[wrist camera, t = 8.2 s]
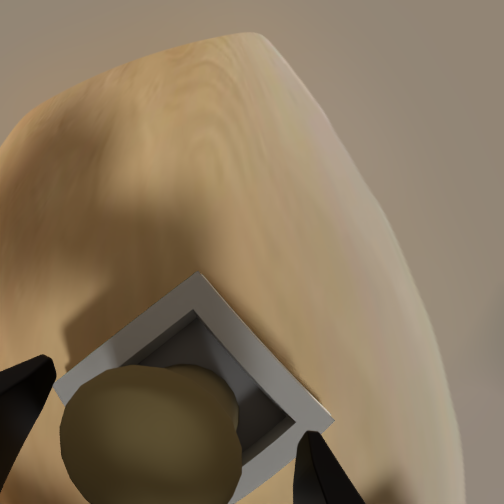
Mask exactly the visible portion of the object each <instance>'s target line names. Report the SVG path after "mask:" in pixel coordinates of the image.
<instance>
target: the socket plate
mask: <svg viewBox="0 0 504 504" xmlns="http://www.w3.org/2000/svg"><path fill="white" fill-rule="evenodd" d="M176 364H193V365H198V366H201V367H204V368H206V369H209V370H212V371H213V372H214V373H216V374H217V375H218V376H220V377H221V378H222V379H224V380H225V381H226V383H227V384H228V385H229V387H230V388H231V390H232V391H233V392H234V394H235V397H236V400H237V403H238V406H239V425H238V427H237V430H236V433H237V436H238V438H239V441H240V444H241V447H242V475H241V477H240V480H239V482H238V485H237V487H236V490H235V492H234V495H233V497H232V498H231V500H230V501H229V503H228V504H234V503H236V502H237V501H239V500H240V499H242V498H243V497H245V496H246V495H248V494H249V493H250V492H252V491H253V490H255V489H256V488H257V487H259V486H260V485H261V484H263V483H264V482H265V481H267V480H268V479H269V478H271V477H272V476H273V475H275V474H276V473H277V472H278V471H280V470H281V469H282V468H283V467H284V466H286V465H287V464H288V463H289V462H291V461H292V460H293V459H294V458H295V457H296V452H297V445H298V443H299V441H300V439H301V438H302V436H303V435H304V433H305V432H306V431H307V430H311V431H318V432H319V433H320V434H322V433H323V432H324V431H325V430H326V429H327V428H328V427H329V426H330V425H331V424H332V423H333V422H334V421H335V420H334V419H333V418H332V417H331V414H330V413H329V412H328V411H327V410H326V409H325V408H324V407H323V406H322V405H321V404H320V403H319V402H318V401H317V400H316V399H315V398H314V397H313V396H312V395H311V394H310V393H309V392H308V390H307V389H306V388H305V387H304V386H303V385H302V384H301V383H300V382H299V381H298V380H297V379H296V378H295V377H294V376H293V375H292V374H291V373H290V372H289V371H288V370H287V369H286V367H285V366H284V365H283V364H282V363H281V362H280V361H279V360H278V359H277V358H276V357H275V356H274V355H273V354H272V352H271V351H270V350H269V349H268V348H267V347H266V346H265V345H264V344H263V343H262V342H261V340H260V339H259V338H258V337H257V336H256V335H255V334H254V333H253V332H252V330H251V329H250V328H249V327H248V326H247V325H246V324H245V323H244V322H243V320H242V319H241V318H240V317H239V316H238V315H237V314H236V312H235V311H234V310H233V309H232V308H231V307H230V306H229V304H228V303H227V302H226V301H225V300H224V299H223V298H222V296H221V295H220V294H219V293H218V292H217V291H216V289H215V288H214V287H213V286H212V285H211V284H210V282H209V281H208V280H207V279H206V278H205V276H204V275H203V274H200V273H199V271H197V272H195V273H194V274H193V275H191V276H190V277H189V278H187V279H186V280H185V281H183V282H182V283H181V284H180V285H178V286H177V287H176V288H174V289H173V290H172V291H170V292H169V293H168V294H166V295H165V296H164V297H163V298H161V299H160V300H159V301H157V302H156V303H155V304H153V305H152V306H151V307H150V308H148V309H147V310H146V311H144V312H143V313H142V314H141V315H139V316H138V317H137V318H135V319H134V320H133V321H132V322H130V323H129V324H128V325H126V326H125V327H124V328H123V329H121V330H120V331H119V332H118V333H116V334H115V335H114V336H112V337H111V338H110V339H109V340H107V341H106V342H105V343H104V344H102V345H101V346H100V347H98V348H97V349H96V350H95V351H93V352H92V353H91V354H90V355H88V356H87V357H86V358H85V359H83V360H82V361H81V362H80V363H78V364H77V365H76V366H75V367H73V368H72V369H71V370H70V371H68V372H67V373H66V374H65V375H63V376H62V377H61V378H60V379H59V380H57V381H56V382H55V383H54V384H53V388H54V389H55V391H56V393H57V394H58V396H59V398H60V399H61V401H62V403H63V404H64V406H65V407H66V404H67V403H68V401H69V400H70V399H71V397H72V396H73V395H74V394H75V392H76V391H77V390H78V388H79V387H80V386H81V385H83V384H84V383H86V382H87V381H89V380H91V379H92V378H94V377H96V376H97V375H99V374H100V373H102V372H104V371H105V370H108V369H113V368H118V367H123V366H128V365H140V366H149V367H159V368H164V367H168V366H172V365H176Z"/></svg>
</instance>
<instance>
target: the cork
mask: <svg viewBox="0 0 504 504" xmlns="http://www.w3.org/2000/svg"><path fill="white" fill-rule="evenodd" d="M238 425H239V406H238V403H237V400H236V397H235V394H234V392H233V391H232V390H231V388H230V387H229V385H228V384H227V383H226V381H225V380H224V379H222V378H221V377H220V376H218V375H217V374H216V373H214V372H213V371H212V370H209V369H206V368H204V367H201V366H198V365H193V364H176V365H172V366H168V367H164V368H159V367H149V366H140V365H128V366H123V367H118V368H113V369H108V370H105V371H104V372H102V373H100V374H99V375H97V376H96V377H94V378H92V379H91V380H89V381H87V382H86V383H84V384H83V385H81V386H80V387H79V388H78V390H77V391H76V392H75V394H74V395H73V396H72V397H71V399H70V400H69V401H68V403H67V404H66V407H65V410H64V414H63V417H62V421H61V424H60V446H61V456H62V459H63V462H64V464H65V467H66V470H67V472H68V474H69V477H70V479H71V480H72V482H73V483H74V485H75V486H76V487H77V489H78V490H79V491H80V493H81V494H82V495H83V497H84V498H85V499H86V500H87V501H88V502H89V503H90V504H228V503H229V501H230V500H231V498H232V497H233V495H234V492H235V490H236V487H237V485H238V482H239V480H240V477H241V475H242V447H241V444H240V441H239V438H238V436H237V433H236V430H237V427H238Z"/></svg>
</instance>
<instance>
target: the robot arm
mask: <svg viewBox="0 0 504 504" xmlns="http://www.w3.org/2000/svg"><path fill="white" fill-rule="evenodd" d="M55 380H56V370H55V367H54V363H53V360H52V359H51V358H50V357H48V356H46V355H43V354H42V355H39V356H37V357H34V358H32V359H30V360H27V361H25V362H22V363H20V364H18V365H15V366H13V367H10V368H8V369H6V370H3V371H1V372H0V492H1V490H2V488H3V485H4V483H5V481H6V478H7V476H8V474H9V472H10V470H11V468H12V466H13V464H14V462H15V460H16V458H17V456H18V454H19V452H20V450H21V448H22V446H23V444H24V442H25V440H26V438H27V436H28V434H29V433H30V431H31V429H32V427H33V425H34V423H35V422H36V420H37V418H38V416H39V415H40V413H41V411H42V409H43V407H44V404H45V402H46V400H47V398H48V395H49V393H50V391H51V389H52V386H53V384H54V382H55ZM293 504H365V502H364V501H363V499H362V498H361V496H360V495H359V493H358V492H357V490H356V489H355V487H354V485H353V484H352V482H351V481H350V479H349V478H348V476H347V475H346V473H345V472H344V470H343V469H342V467H341V466H340V464H339V462H338V461H337V459H336V458H335V456H334V455H333V453H332V451H331V450H330V448H329V447H328V445H327V444H326V442H325V440H324V439H323V437H322V436H321V434H320V433H319V432H318V431H311V430H307V431H306V432H305V433H304V435H303V436H302V438H301V439H300V441H299V443H298V445H297V452H296V462H295V472H294V481H293Z"/></svg>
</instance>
